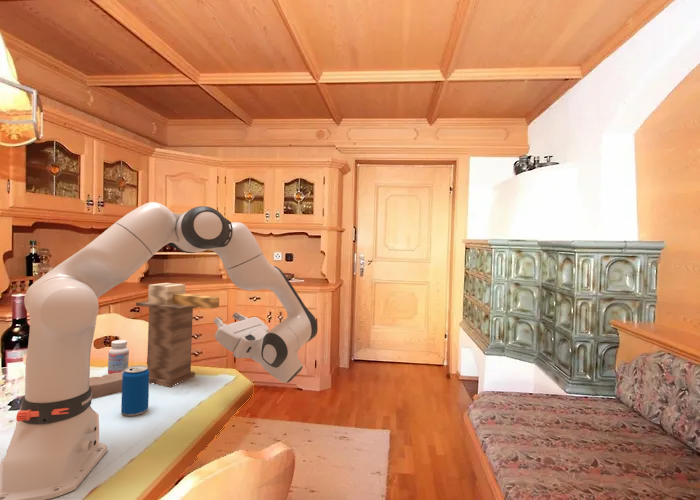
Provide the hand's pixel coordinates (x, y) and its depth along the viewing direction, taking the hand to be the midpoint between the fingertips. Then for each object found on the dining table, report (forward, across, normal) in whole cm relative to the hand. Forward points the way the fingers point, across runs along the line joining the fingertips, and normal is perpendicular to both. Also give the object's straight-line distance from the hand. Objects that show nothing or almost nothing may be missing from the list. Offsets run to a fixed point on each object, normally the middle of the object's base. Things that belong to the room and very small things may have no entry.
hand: (225, 316), depth 123 cm
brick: (+15, +17, +37) cm, 43 cm away
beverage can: (-2, +23, +26) cm, 35 cm away
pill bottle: (+24, +3, +41) cm, 48 cm away
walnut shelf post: (+7, 0, +32) cm, 32 cm away
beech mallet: (+15, 0, +6) cm, 16 cm away
